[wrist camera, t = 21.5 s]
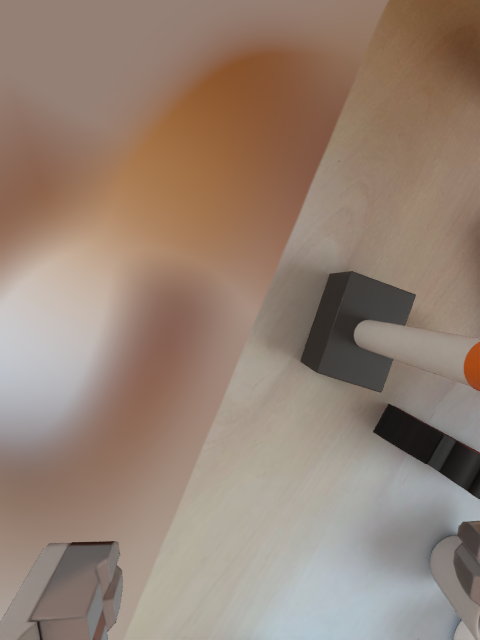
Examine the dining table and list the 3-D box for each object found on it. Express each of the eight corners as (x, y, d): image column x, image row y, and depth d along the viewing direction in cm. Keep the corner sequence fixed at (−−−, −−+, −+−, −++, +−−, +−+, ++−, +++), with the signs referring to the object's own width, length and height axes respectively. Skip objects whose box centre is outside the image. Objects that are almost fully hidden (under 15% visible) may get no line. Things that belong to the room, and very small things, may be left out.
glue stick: (360, 313, 31) (511, 335, 16) (387, 325, 32) (557, 358, 17) (347, 342, 31) (485, 391, 16) (374, 354, 32) (532, 411, 17)
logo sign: (362, 423, 38) (431, 478, 27) (377, 396, 38) (452, 440, 27) (480, 485, 41) (587, 558, 30) (494, 460, 41) (606, 524, 30)
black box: (329, 273, 36) (351, 270, 31) (386, 294, 37) (416, 294, 32) (299, 361, 36) (316, 372, 31) (356, 379, 37) (381, 392, 32)
